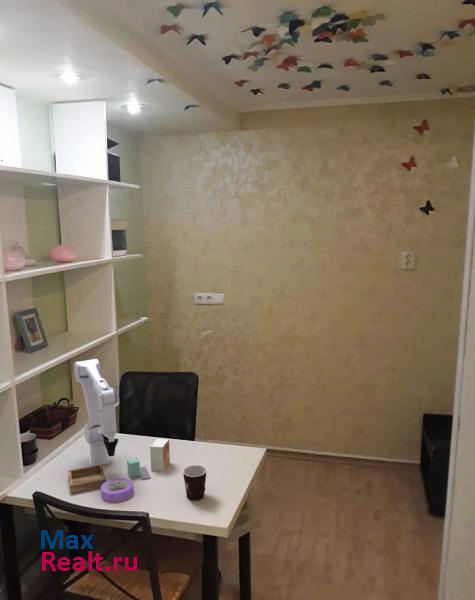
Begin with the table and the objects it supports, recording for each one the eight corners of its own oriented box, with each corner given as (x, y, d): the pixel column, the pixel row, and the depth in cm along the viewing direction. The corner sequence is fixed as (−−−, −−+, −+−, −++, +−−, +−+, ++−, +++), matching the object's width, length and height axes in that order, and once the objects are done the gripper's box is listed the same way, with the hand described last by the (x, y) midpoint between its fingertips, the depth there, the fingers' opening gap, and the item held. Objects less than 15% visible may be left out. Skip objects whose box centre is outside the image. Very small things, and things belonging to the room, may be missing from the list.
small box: (163, 471, 195) (162, 447, 193) (150, 470, 196) (149, 446, 194) (170, 462, 203) (169, 439, 201) (157, 461, 204) (156, 438, 202)
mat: (120, 472, 195) (120, 471, 195) (145, 467, 199) (145, 466, 199) (125, 483, 186) (124, 482, 186) (150, 478, 190) (150, 477, 190)
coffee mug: (184, 490, 180) (183, 465, 179) (206, 489, 181) (206, 464, 180) (183, 508, 169) (182, 481, 167) (207, 506, 170) (206, 480, 168)
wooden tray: (68, 478, 190) (68, 470, 190) (102, 472, 195) (101, 464, 195) (70, 495, 178) (70, 486, 178) (106, 487, 183) (106, 479, 183)
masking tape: (112, 484, 186) (112, 475, 185) (139, 489, 182) (138, 479, 182) (94, 500, 175) (94, 490, 174) (122, 506, 171) (122, 496, 171)
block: (127, 473, 193) (127, 459, 192) (137, 471, 195) (136, 457, 194) (130, 478, 189) (129, 463, 189) (140, 475, 191) (139, 461, 190)
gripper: (95, 414, 195) (97, 446, 196) (100, 427, 181) (101, 461, 183) (113, 412, 197) (115, 443, 199) (118, 424, 184) (120, 458, 186)
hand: (110, 451), depth 191 cm, fingers open, 7 cm apart
